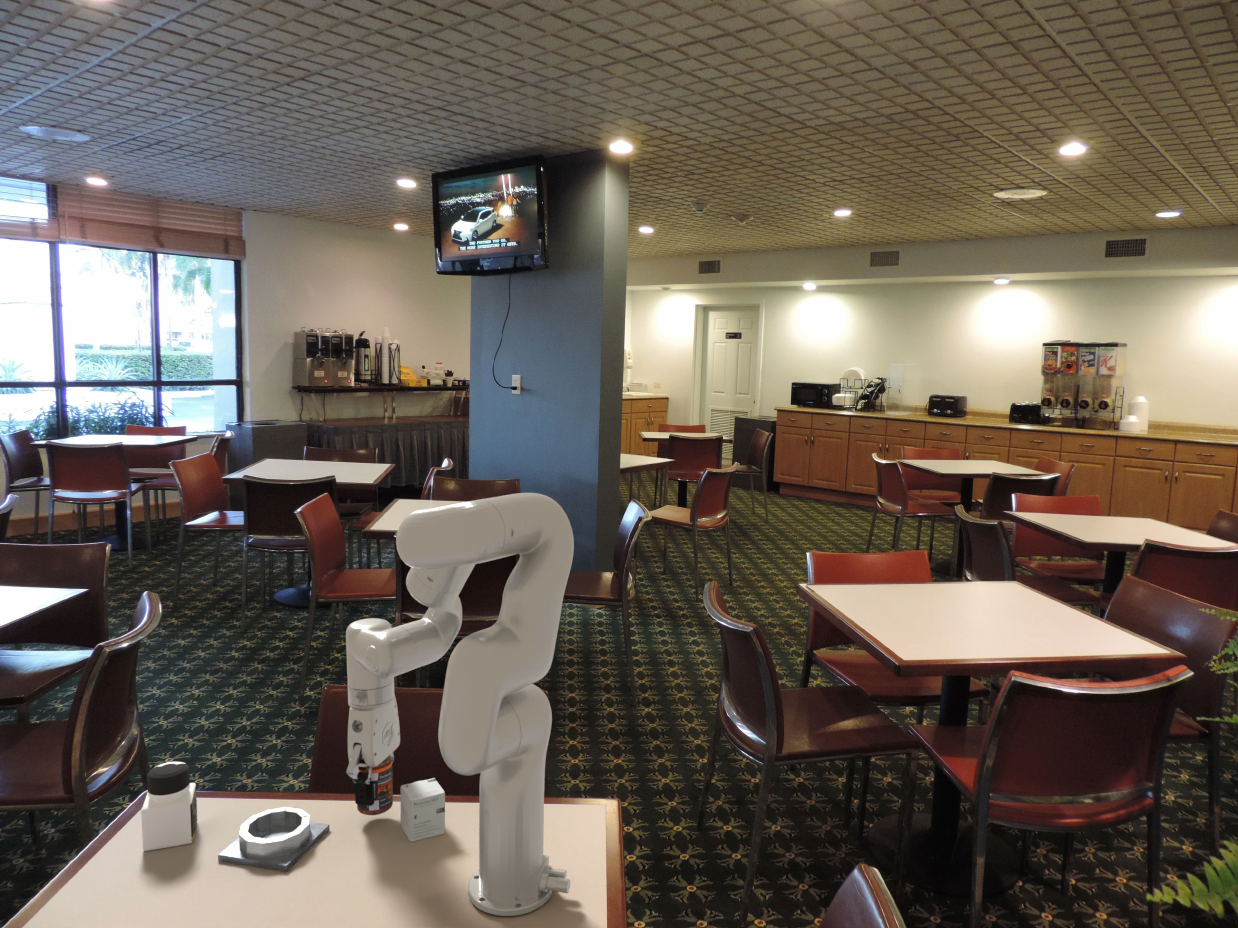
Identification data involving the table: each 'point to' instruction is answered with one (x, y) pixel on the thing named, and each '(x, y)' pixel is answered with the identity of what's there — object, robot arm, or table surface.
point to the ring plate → (277, 861)
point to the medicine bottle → (169, 807)
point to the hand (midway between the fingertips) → (374, 793)
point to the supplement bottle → (380, 788)
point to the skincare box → (422, 809)
